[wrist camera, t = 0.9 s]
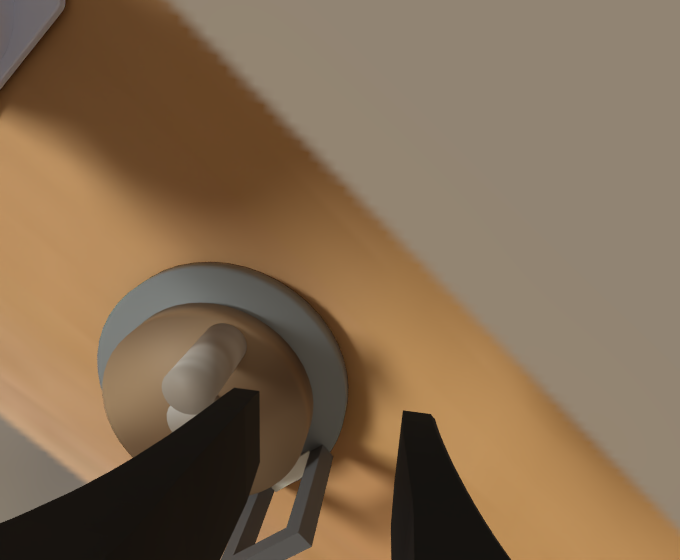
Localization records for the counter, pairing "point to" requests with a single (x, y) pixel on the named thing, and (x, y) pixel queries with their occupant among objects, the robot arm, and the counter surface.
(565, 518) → the counter surface
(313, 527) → the disc
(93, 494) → the robot arm
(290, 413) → the capstan disc
